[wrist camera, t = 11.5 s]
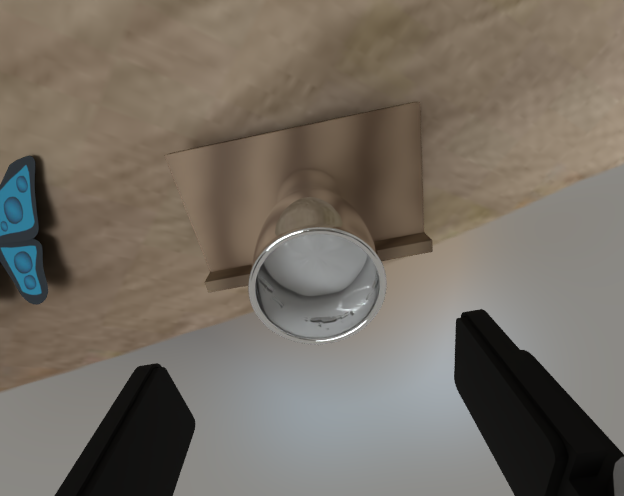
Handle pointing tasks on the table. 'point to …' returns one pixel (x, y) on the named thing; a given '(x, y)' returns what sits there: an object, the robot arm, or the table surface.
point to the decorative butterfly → (21, 231)
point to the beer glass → (315, 264)
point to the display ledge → (298, 156)
